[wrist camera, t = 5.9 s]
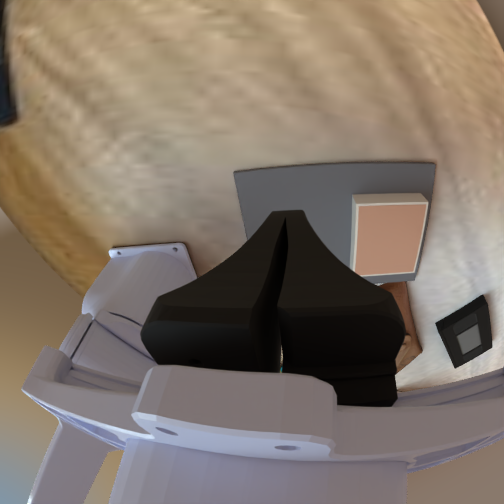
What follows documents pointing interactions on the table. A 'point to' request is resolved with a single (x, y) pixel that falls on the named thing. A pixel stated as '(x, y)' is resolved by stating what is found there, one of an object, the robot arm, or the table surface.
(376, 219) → the tile
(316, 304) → the robot arm
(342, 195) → the mat
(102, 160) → the table surface
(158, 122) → the table surface
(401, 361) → the sunglasses case
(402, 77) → the table surface
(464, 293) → the table surface
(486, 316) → the vhs tape
